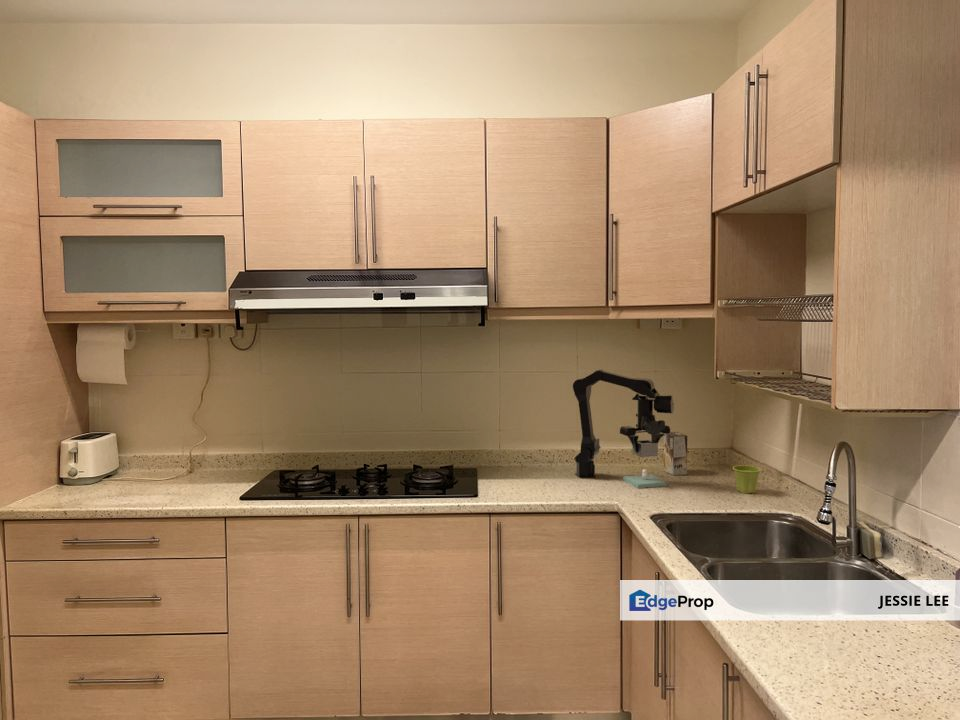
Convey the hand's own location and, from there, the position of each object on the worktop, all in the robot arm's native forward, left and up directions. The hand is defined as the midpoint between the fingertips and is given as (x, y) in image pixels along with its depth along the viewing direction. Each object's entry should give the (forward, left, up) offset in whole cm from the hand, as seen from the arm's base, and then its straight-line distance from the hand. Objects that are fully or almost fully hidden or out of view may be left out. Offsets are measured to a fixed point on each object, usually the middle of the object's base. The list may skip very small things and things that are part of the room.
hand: (645, 452), depth 240 cm
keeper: (0, 0, -12) cm, 12 cm away
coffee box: (+20, +12, -12) cm, 26 cm away
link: (0, 0, -1) cm, 1 cm away
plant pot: (+30, -20, -12) cm, 38 cm away
